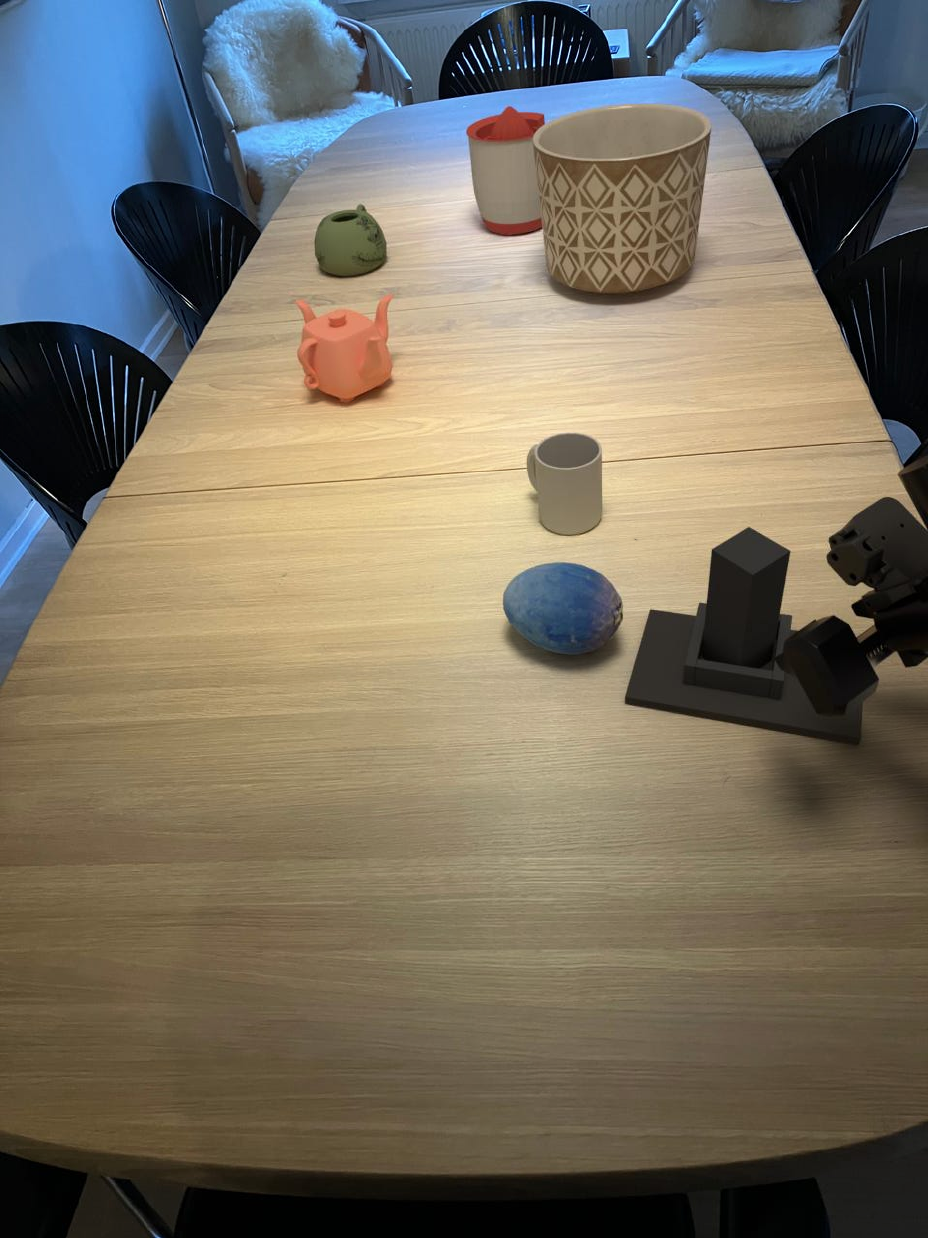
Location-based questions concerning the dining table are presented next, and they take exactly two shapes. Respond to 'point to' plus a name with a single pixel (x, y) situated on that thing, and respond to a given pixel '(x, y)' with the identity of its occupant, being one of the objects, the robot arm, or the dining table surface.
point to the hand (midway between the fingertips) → (817, 635)
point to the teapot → (345, 350)
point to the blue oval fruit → (563, 607)
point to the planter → (621, 194)
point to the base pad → (726, 682)
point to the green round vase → (349, 242)
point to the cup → (567, 482)
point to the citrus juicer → (506, 171)
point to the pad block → (744, 599)
